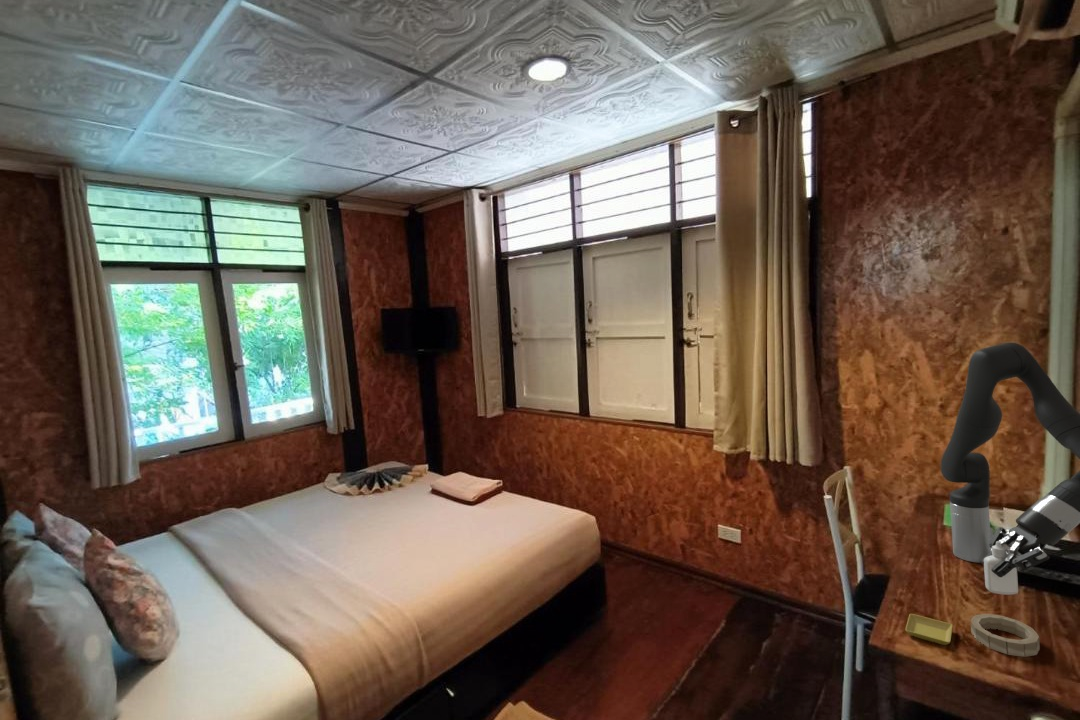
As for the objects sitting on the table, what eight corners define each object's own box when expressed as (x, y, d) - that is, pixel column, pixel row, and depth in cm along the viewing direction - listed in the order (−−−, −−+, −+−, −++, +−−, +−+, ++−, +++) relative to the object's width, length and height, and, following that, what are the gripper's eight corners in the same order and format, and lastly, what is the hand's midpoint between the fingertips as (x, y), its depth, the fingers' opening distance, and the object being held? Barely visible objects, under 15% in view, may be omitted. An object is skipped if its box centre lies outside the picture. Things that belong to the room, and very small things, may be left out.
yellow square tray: (950, 650, 114) (950, 642, 114) (905, 637, 120) (904, 629, 120) (953, 632, 120) (953, 624, 120) (910, 620, 126) (909, 612, 126)
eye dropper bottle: (1017, 599, 111) (1014, 548, 110) (984, 591, 115) (981, 542, 114) (1019, 590, 114) (1015, 541, 113) (986, 583, 118) (983, 535, 117)
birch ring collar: (1000, 622, 121) (1000, 610, 121) (1053, 651, 110) (1052, 638, 109) (959, 629, 120) (958, 618, 120) (1008, 660, 109) (1007, 647, 108)
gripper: (1012, 497, 118) (958, 546, 122) (1058, 520, 105) (995, 573, 108) (1040, 518, 117) (984, 566, 121) (1090, 543, 104) (1025, 597, 107)
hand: (990, 569), depth 115 cm, fingers closed on eye dropper bottle, 3 cm apart
